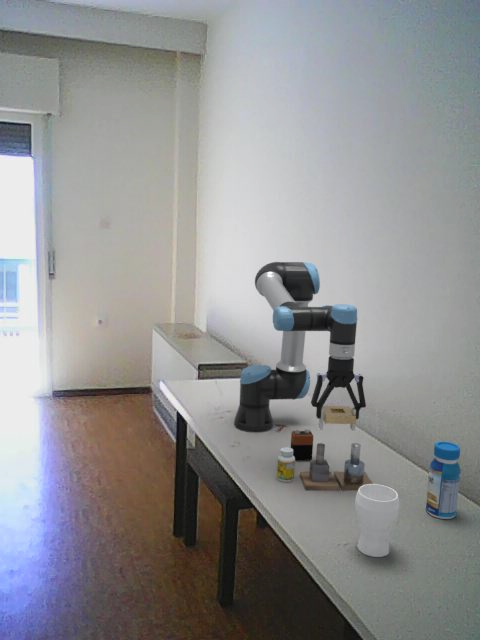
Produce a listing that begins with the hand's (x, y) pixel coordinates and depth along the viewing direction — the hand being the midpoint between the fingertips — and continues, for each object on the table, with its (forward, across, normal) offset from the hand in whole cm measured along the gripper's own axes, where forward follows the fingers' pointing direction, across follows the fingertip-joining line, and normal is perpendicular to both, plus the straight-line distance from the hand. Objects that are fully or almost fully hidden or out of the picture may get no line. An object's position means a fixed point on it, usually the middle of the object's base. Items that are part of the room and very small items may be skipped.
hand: (336, 428), depth 181 cm
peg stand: (+18, +6, 0) cm, 19 cm away
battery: (+18, -7, +19) cm, 27 cm away
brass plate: (-3, 0, 0) cm, 3 cm away
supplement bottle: (+18, -14, +3) cm, 23 cm away
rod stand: (+18, -4, 0) cm, 18 cm away
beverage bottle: (+18, +27, -18) cm, 37 cm away
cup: (+18, +2, -37) cm, 41 cm away
